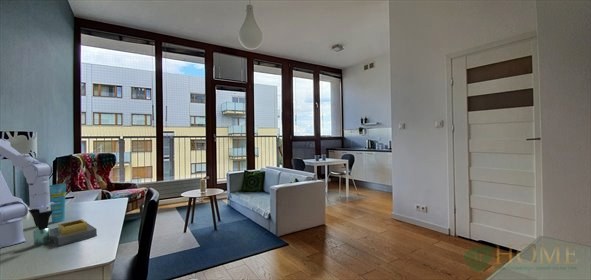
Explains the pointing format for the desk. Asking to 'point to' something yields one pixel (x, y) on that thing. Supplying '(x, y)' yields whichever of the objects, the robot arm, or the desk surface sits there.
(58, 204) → the tube
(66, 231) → the grey and yellow block
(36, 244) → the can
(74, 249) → the desk surface
